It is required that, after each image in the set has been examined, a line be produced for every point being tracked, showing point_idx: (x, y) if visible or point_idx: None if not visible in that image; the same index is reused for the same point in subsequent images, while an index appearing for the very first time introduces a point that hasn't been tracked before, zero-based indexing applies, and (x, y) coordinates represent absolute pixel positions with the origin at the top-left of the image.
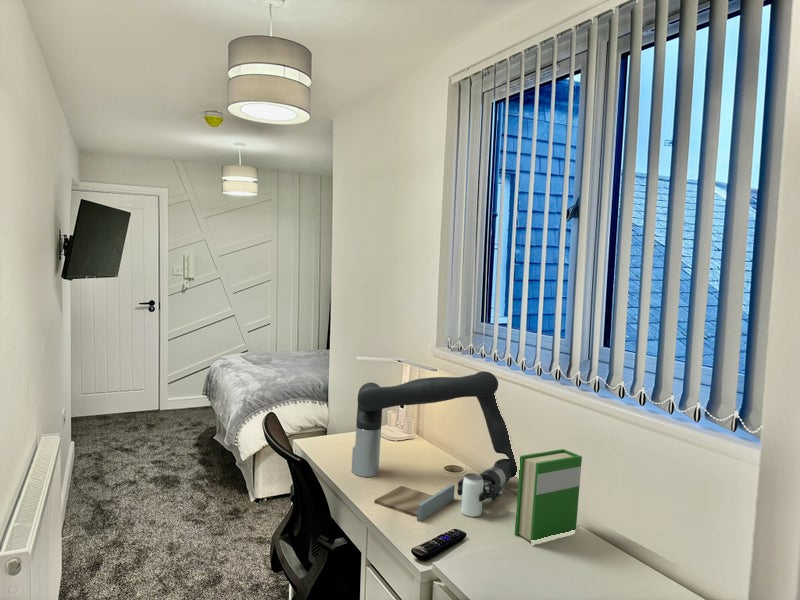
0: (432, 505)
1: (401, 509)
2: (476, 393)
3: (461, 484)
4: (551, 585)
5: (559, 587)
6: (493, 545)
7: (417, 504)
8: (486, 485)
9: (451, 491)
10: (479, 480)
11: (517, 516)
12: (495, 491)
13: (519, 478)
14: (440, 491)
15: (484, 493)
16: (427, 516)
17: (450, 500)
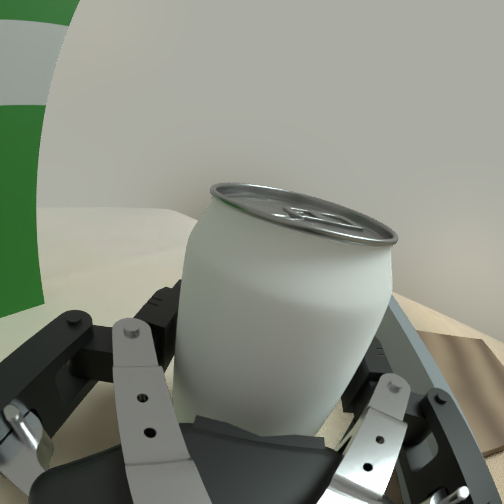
0: (380, 336)
1: (423, 332)
2: None
3: (418, 405)
4: (56, 212)
5: (48, 211)
6: (123, 265)
7: None
8: (147, 412)
9: None
10: (227, 192)
11: (34, 231)
12: (53, 330)
13: (52, 74)
14: (436, 370)
15: (160, 303)
16: None
17: (406, 495)
